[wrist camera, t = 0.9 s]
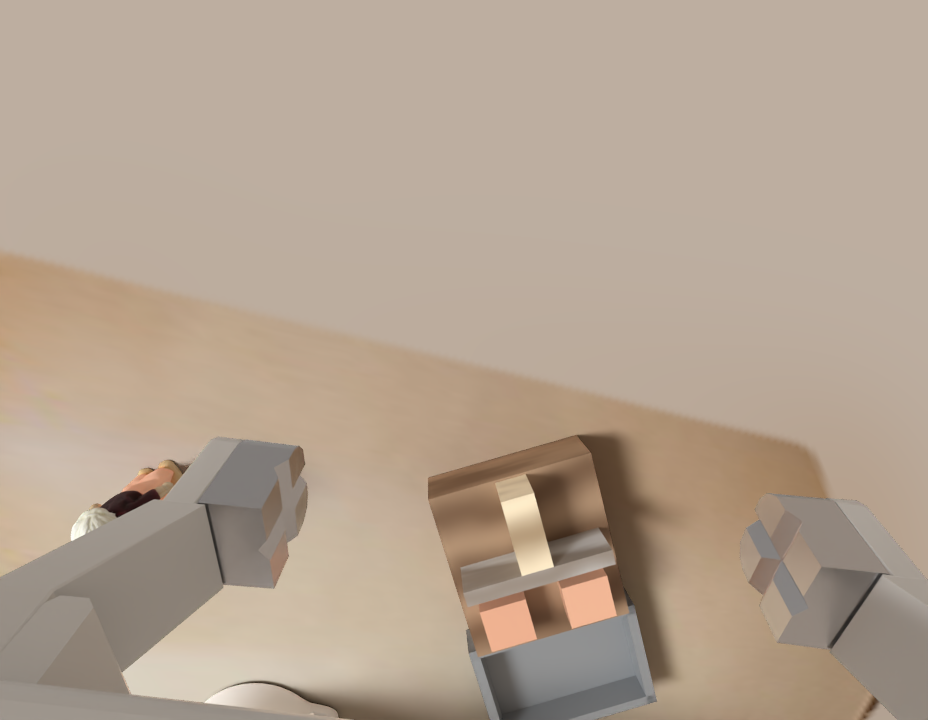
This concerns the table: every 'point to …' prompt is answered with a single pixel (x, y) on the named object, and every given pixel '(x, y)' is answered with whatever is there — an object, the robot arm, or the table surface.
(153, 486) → the grandmother figurine
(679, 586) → the table surface
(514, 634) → the terracotta tile
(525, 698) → the box
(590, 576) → the terracotta tile
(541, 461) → the walnut board
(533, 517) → the scraper
